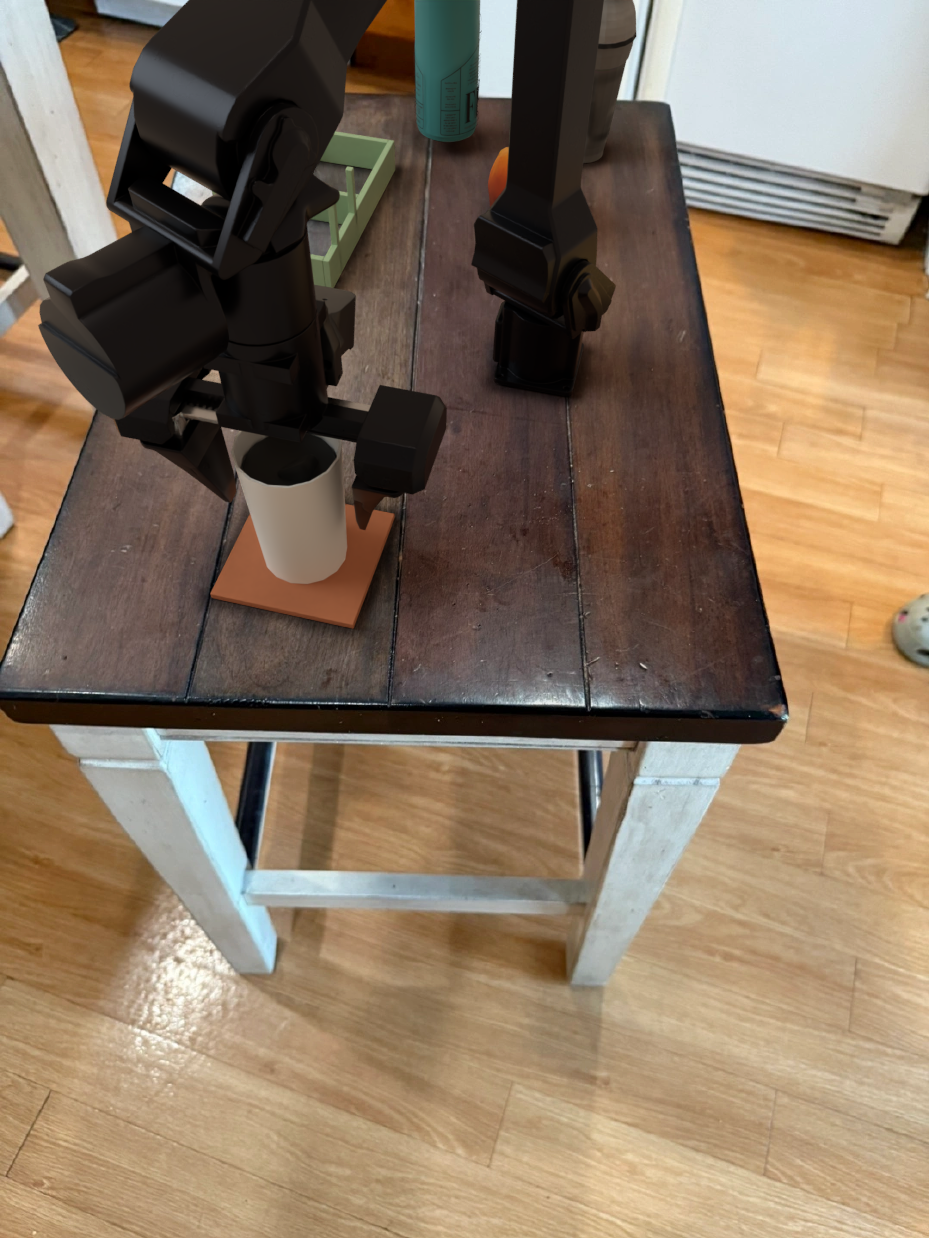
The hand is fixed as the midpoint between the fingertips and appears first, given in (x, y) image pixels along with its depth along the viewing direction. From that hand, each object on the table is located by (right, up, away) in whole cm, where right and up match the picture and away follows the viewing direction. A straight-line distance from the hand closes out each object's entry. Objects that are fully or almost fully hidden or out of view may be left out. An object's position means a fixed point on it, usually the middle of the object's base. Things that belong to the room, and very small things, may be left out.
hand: (297, 510), depth 60 cm
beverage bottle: (+9, +43, +36) cm, 56 cm away
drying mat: (0, -3, +4) cm, 5 cm away
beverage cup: (+23, +41, +35) cm, 59 cm away
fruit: (+17, +31, +28) cm, 45 cm away
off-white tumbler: (0, -2, +4) cm, 5 cm away
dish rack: (-4, +31, +27) cm, 41 cm away
